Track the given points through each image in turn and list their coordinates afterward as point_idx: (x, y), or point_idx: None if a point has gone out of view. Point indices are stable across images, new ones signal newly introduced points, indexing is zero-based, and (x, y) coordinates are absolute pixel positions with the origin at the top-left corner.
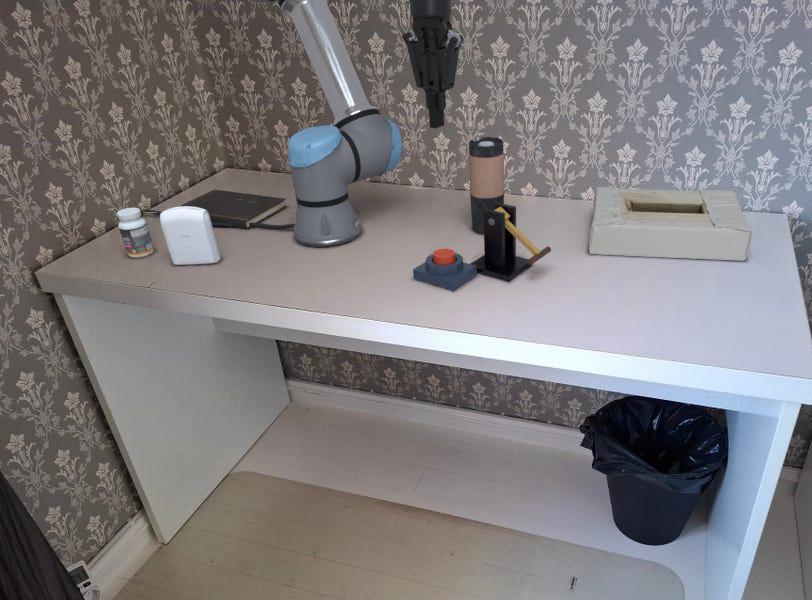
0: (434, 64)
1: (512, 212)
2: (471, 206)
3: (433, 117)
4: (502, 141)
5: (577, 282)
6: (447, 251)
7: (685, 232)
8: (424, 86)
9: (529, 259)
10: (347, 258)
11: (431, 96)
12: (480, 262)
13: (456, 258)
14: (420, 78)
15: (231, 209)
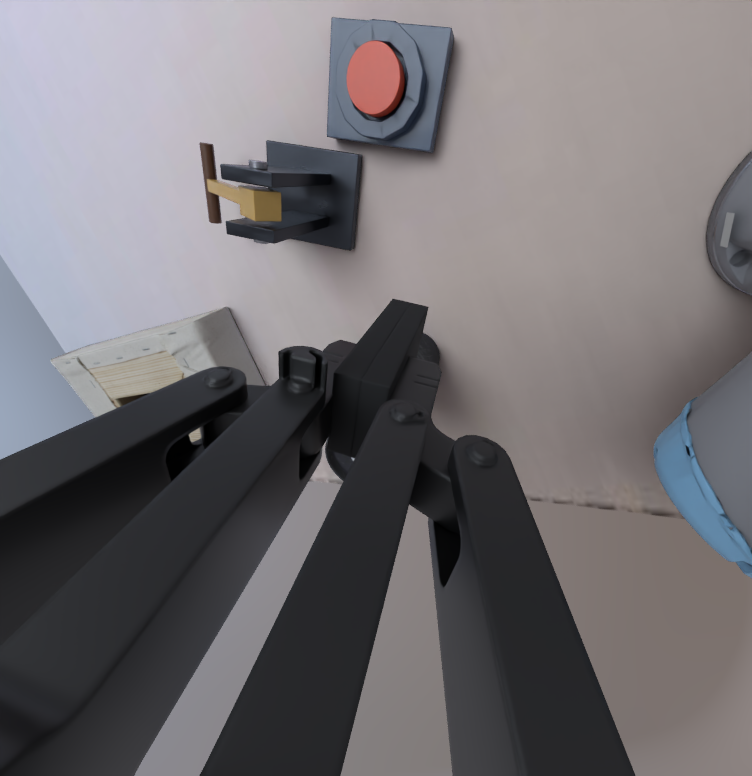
0: (162, 556)
1: (234, 220)
2: (428, 360)
3: (391, 317)
4: (332, 467)
5: (188, 198)
6: (369, 93)
7: (106, 345)
8: (414, 426)
9: (204, 143)
10: (702, 63)
11: (365, 369)
12: (342, 180)
13: (357, 110)
14: (457, 497)
15: None
